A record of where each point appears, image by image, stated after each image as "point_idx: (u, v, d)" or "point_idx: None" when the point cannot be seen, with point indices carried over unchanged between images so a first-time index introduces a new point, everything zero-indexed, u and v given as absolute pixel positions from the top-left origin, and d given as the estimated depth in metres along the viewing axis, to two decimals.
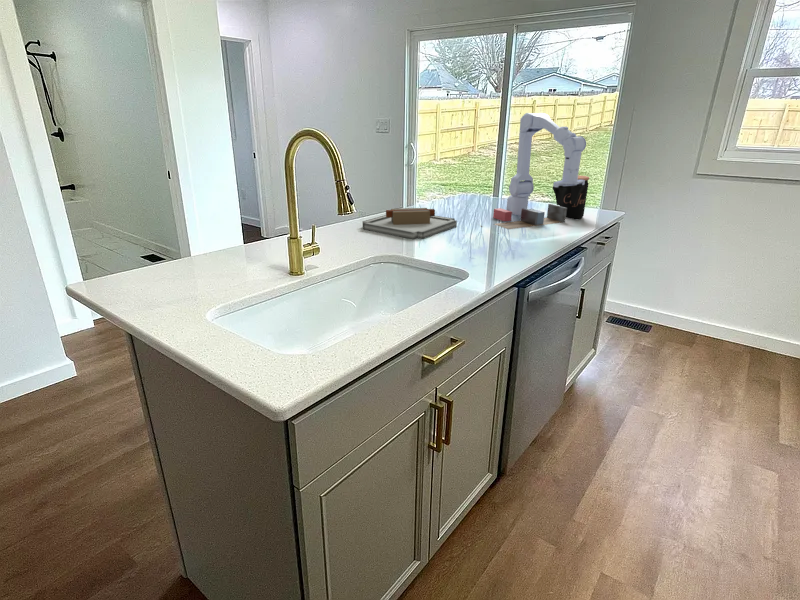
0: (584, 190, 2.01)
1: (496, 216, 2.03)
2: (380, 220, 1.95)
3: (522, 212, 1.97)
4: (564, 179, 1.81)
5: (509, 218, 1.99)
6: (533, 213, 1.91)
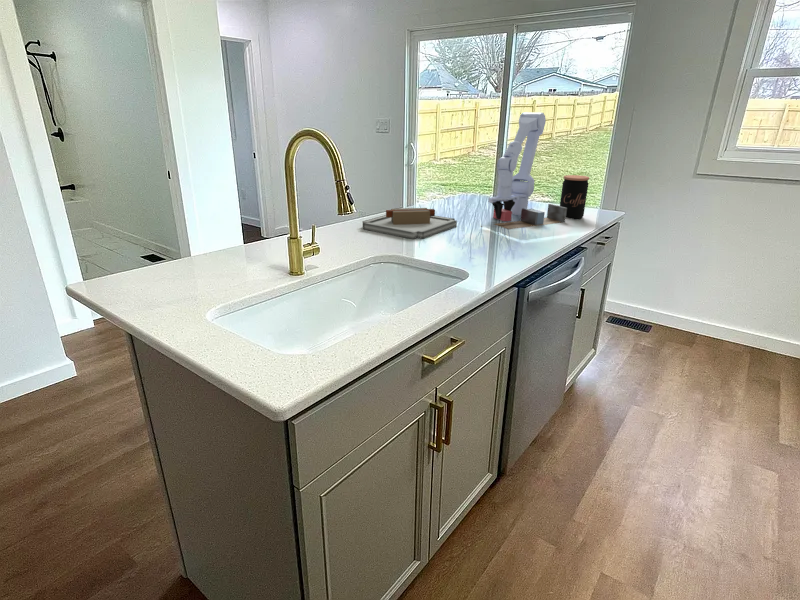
0: (584, 190, 2.01)
1: None
2: (380, 220, 1.95)
3: (522, 212, 1.97)
4: (498, 195, 1.97)
5: (509, 218, 1.99)
6: (533, 213, 1.91)
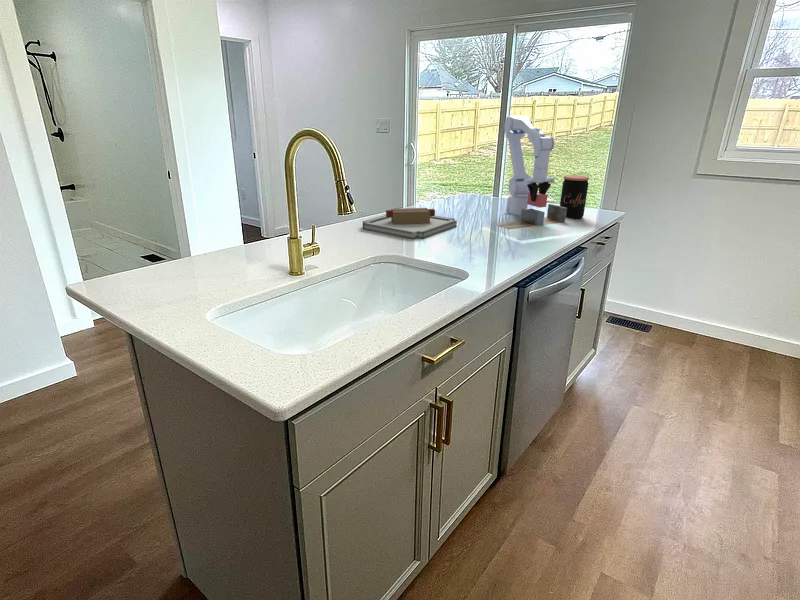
0: (584, 190, 2.01)
1: None
2: (380, 220, 1.95)
3: (522, 212, 1.97)
4: (534, 177, 1.92)
5: (545, 201, 1.93)
6: (533, 213, 1.91)
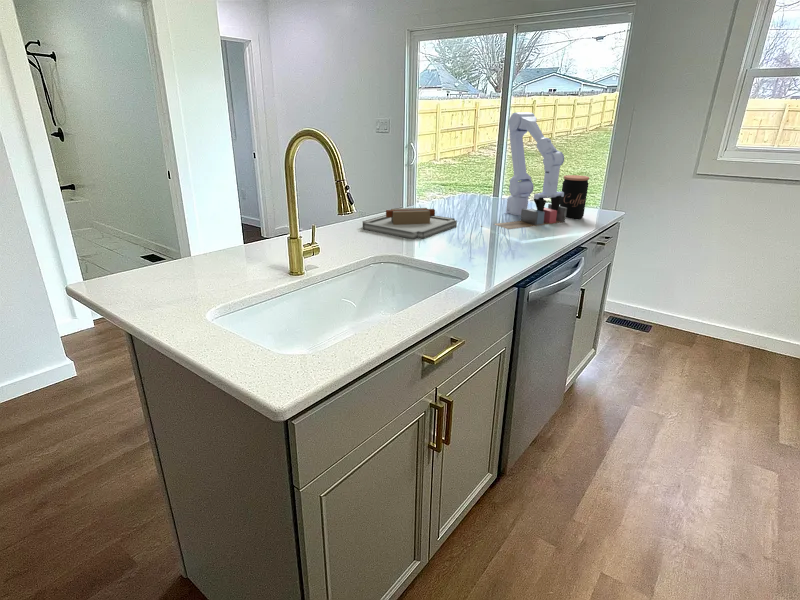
0: (584, 190, 2.01)
1: None
2: (380, 220, 1.95)
3: (522, 212, 1.97)
4: (544, 191, 1.93)
5: (554, 217, 1.95)
6: (533, 213, 1.91)
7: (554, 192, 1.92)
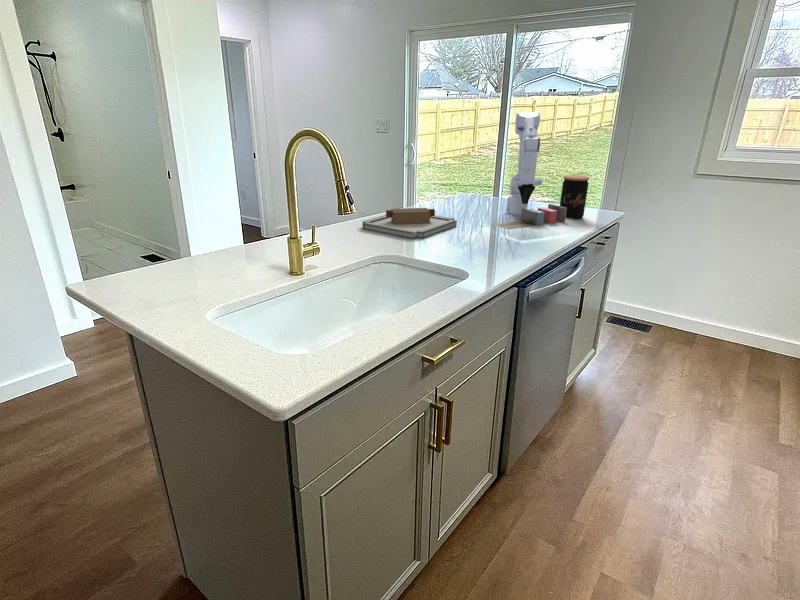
0: (584, 190, 2.01)
1: None
2: (380, 220, 1.95)
3: (522, 212, 1.97)
4: (521, 179, 1.85)
5: (554, 217, 1.95)
6: (533, 213, 1.91)
7: (532, 179, 1.84)
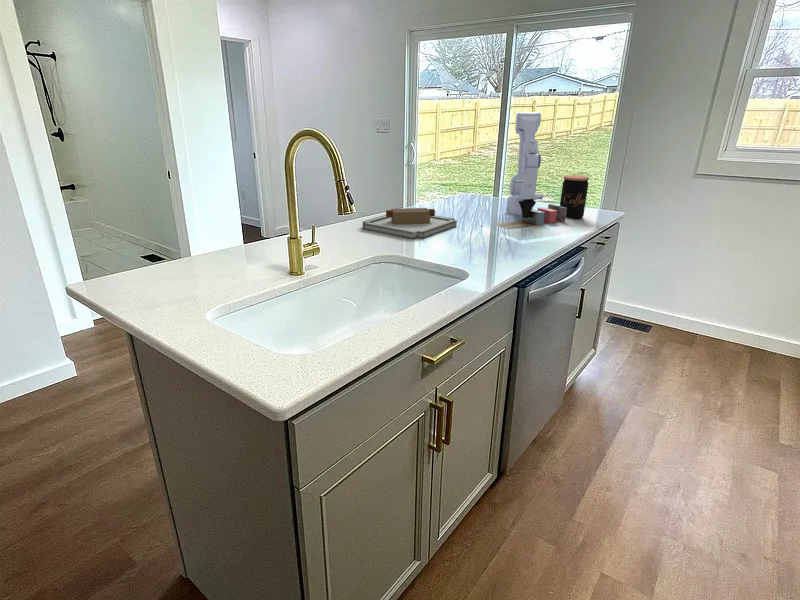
0: (584, 190, 2.01)
1: None
2: (380, 220, 1.95)
3: None
4: (522, 194, 1.88)
5: (554, 217, 1.95)
6: (533, 213, 1.91)
7: (532, 195, 1.87)
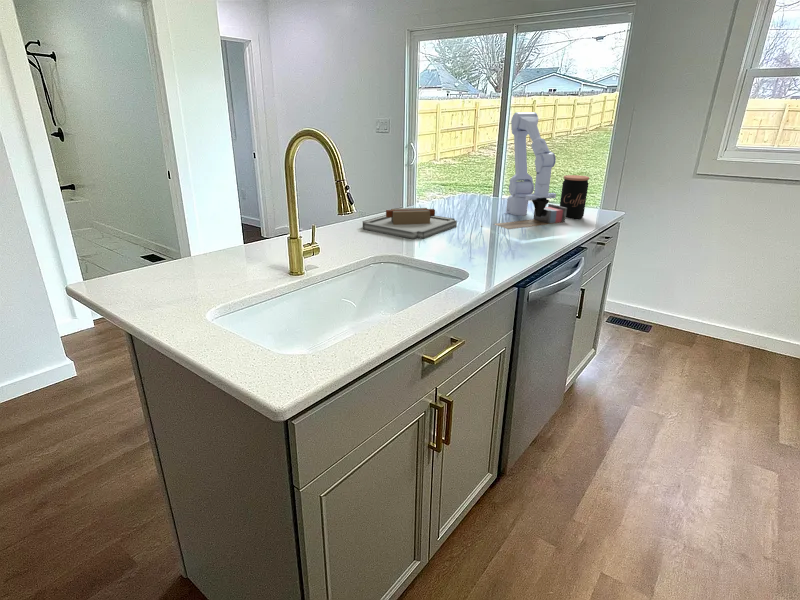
0: (584, 190, 2.01)
1: None
2: (380, 220, 1.95)
3: None
4: (536, 193, 1.91)
5: (560, 216, 1.96)
6: (546, 211, 1.93)
7: (546, 193, 1.90)
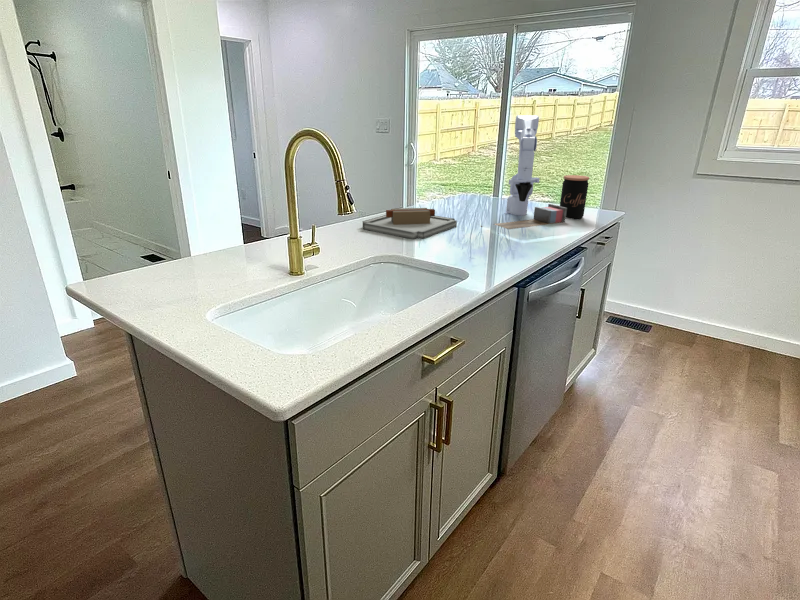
0: (584, 190, 2.01)
1: None
2: (380, 220, 1.95)
3: (535, 211, 2.00)
4: (519, 177, 1.91)
5: (560, 216, 1.96)
6: (546, 211, 1.93)
7: (529, 177, 1.90)
